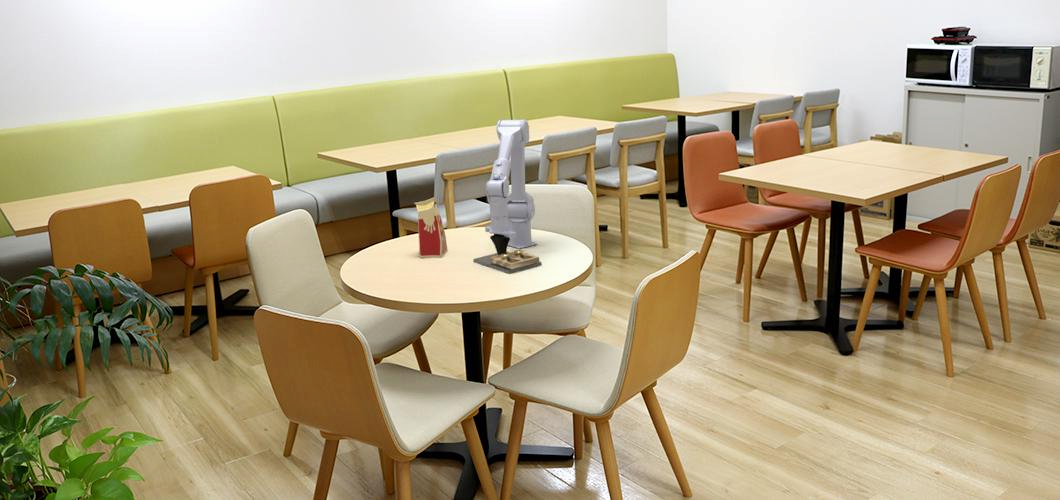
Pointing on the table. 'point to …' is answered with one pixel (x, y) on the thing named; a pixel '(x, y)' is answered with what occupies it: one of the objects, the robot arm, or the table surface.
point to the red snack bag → (430, 230)
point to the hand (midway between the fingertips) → (501, 256)
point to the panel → (515, 260)
